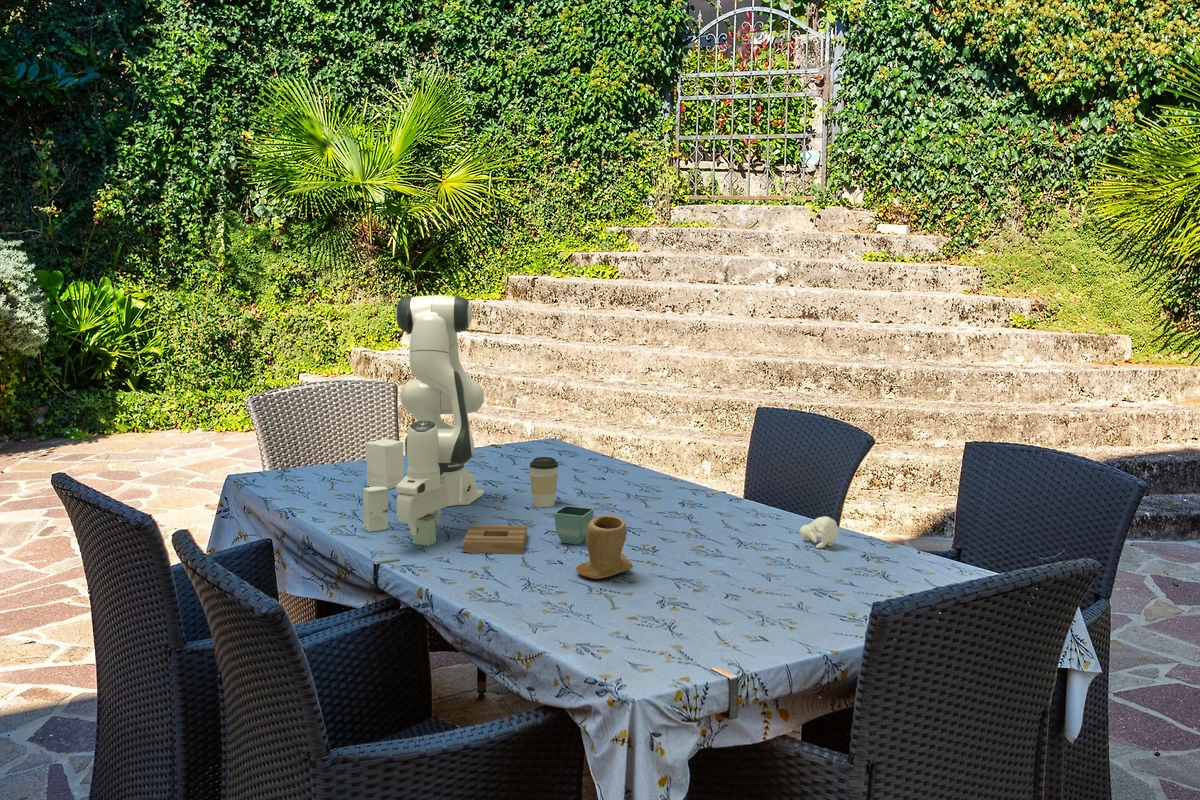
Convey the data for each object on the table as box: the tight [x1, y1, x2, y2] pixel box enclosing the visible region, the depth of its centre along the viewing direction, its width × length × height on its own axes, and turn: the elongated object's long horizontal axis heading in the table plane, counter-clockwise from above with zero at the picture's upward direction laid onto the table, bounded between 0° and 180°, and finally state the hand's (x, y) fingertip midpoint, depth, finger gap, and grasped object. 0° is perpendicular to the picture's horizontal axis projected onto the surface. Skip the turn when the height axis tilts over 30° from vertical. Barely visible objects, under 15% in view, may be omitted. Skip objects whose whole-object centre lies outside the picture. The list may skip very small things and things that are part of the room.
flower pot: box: [554, 505, 594, 545], centre depth 302 cm, size 9×9×9 cm
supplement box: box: [365, 438, 405, 490], centre depth 362 cm, size 9×9×15 cm
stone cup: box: [575, 514, 634, 580], centre depth 275 cm, size 15×12×15 cm
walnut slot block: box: [462, 524, 528, 554], centre depth 300 cm, size 16×16×3 cm
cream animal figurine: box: [799, 516, 840, 549], centre depth 303 cm, size 6×8×12 cm
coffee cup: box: [529, 456, 559, 508], centre depth 340 cm, size 9×9×15 cm
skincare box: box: [362, 486, 389, 533], centre depth 312 cm, size 6×4×12 cm
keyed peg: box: [412, 513, 437, 546], centre depth 299 cm, size 4×5×8 cm
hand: (424, 529), depth 300 cm, fingers open, 8 cm apart
